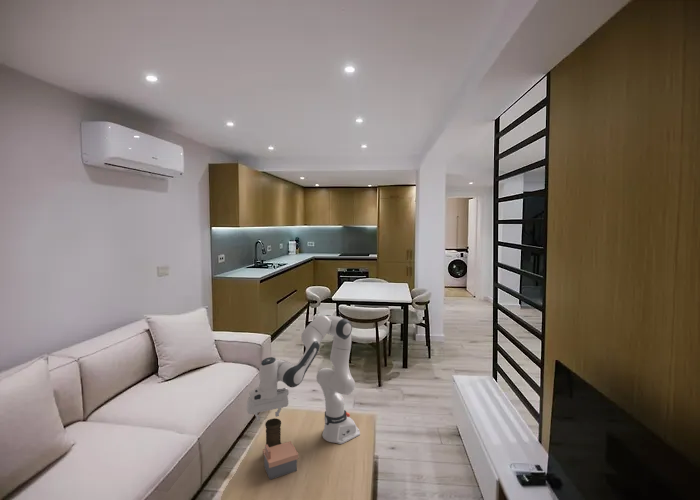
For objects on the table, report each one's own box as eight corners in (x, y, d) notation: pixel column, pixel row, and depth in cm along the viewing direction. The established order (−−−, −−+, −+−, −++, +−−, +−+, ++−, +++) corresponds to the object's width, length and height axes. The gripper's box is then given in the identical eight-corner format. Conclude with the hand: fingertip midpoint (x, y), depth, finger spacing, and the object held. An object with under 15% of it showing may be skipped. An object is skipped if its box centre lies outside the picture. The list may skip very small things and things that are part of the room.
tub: (290, 458, 190) (290, 444, 189) (296, 470, 181) (296, 455, 180) (264, 467, 183) (264, 452, 182) (269, 479, 174) (269, 464, 173)
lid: (290, 445, 190) (290, 434, 189) (298, 458, 180) (298, 446, 179) (262, 453, 183) (262, 441, 182) (269, 468, 172) (269, 455, 172)
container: (277, 460, 188) (277, 428, 186) (262, 458, 190) (262, 426, 188) (284, 449, 197) (284, 418, 195) (269, 447, 199) (269, 416, 197)
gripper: (286, 384, 183) (286, 410, 184) (246, 392, 174) (245, 419, 175) (290, 390, 178) (289, 416, 179) (248, 397, 169) (248, 425, 170)
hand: (267, 417), depth 177 cm, fingers open, 8 cm apart
